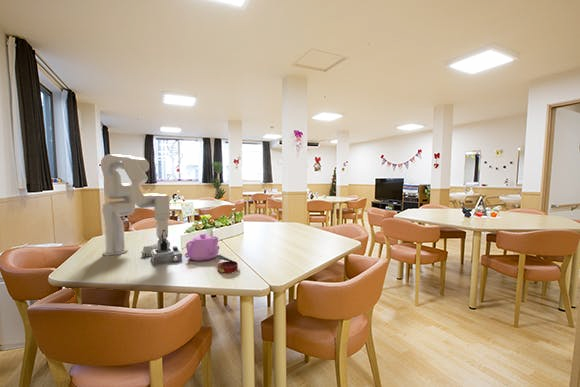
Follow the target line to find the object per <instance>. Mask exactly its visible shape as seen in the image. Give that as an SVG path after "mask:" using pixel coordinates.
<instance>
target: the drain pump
mask: <svg viewBox="0 0 580 387" xmlns="http://www.w3.org/2000/svg"><path fill="white" fill-rule="evenodd" d="M168 241H169V239H167V250H163V251H161V246H160V243H161V240H159V239H158V240H157V243H158V253H160V252H167V251H168V248H169V246H168Z"/></svg>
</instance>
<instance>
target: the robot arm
mask: <svg viewBox="0 0 580 387" xmlns="http://www.w3.org/2000/svg"><path fill="white" fill-rule="evenodd" d="M100 169H101V172H102V175H103V187H104V189H103V190H104V196H105V198H106V199H108V200H114V201H108V202H105V203H104V204H103V205H102V207H101V208H102V209H101V210H102V215H103V219H104V231H105V232H104V235H105V250H104V251H102V255H104V256H116V255H117V256H118V255H122V254H126V253H127V252H128V248H125V226H124V225H125V224H124V221H123V219H122V218H121V217H124V216H130V215H133V214H134V212H135V211H136V206H137V207H138V208H140V209H146V208H147V209H148V208H154V209H153V210H154V221H156V225H155V226H156V230H155V231H156V232H155V233H156V234H155V235H156V238H158V240H161V243H160V246H161V251H163V250H167V240H168V239H167V238H168V237H169V221H168V220H170V219H171V217H170V216H171V215H170V214H171V213H170V212H171V210H170V205H171V204H170V195H168V194H165V193H164V194H160V193H145V194H144V193H143V192H142V191H141V189H140V186H142V185H144V184H146V182H147V181H148V180H149V179H148V178H149V177H148V175H147V174H146V172H148V171H149V170H150V162H149V161H148V159H146V158H144V157H138V156H134V155H133V156H132V155H126V154H125V155H124V154H123V155H122V154H115V153H114V154H112V153H110V154H109V153H108V154H105V155H104V156H102V158H101V160H100ZM118 170H124V171H125V173H126V175H127V176H128V179H129V180H130V182H131V184H130V183H127V182H126V183H124V182H123V183H122V178H121V174H120V173H119V171H118ZM118 199H119V200H118Z"/></svg>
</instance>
